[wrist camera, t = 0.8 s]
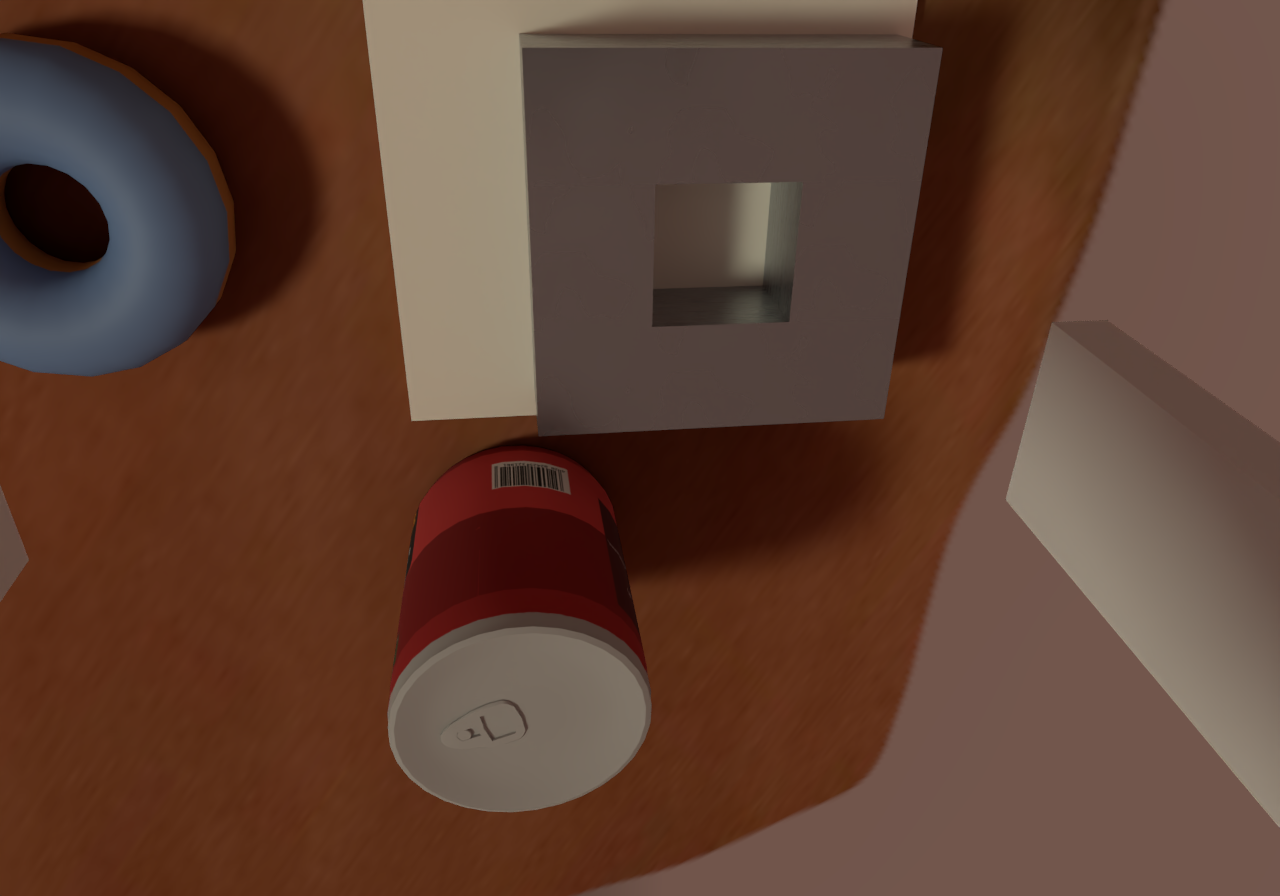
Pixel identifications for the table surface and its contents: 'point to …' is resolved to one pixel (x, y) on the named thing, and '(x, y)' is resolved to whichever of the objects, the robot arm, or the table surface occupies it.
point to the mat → (495, 176)
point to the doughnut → (108, 213)
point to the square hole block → (714, 154)
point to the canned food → (516, 637)
